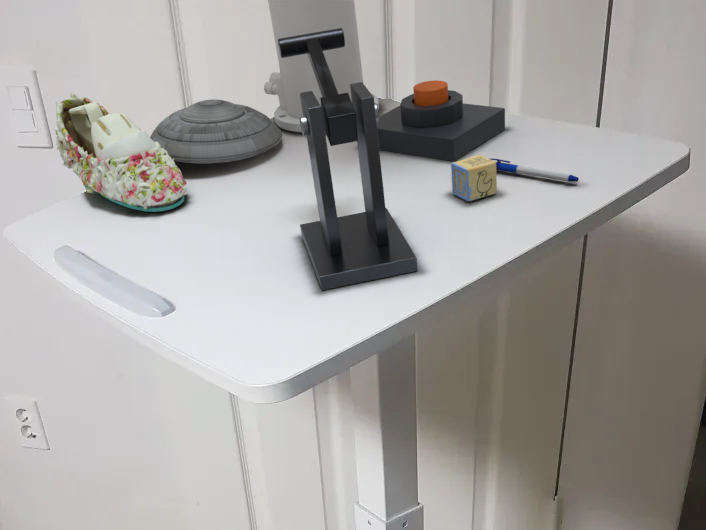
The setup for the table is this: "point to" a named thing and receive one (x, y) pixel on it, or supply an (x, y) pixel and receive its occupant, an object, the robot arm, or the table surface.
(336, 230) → the bracket
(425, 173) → the table surface
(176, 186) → the ballet flat
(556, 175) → the ballpoint pen
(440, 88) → the button
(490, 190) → the alphabet block
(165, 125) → the flying saucer
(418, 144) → the control block
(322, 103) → the lever
